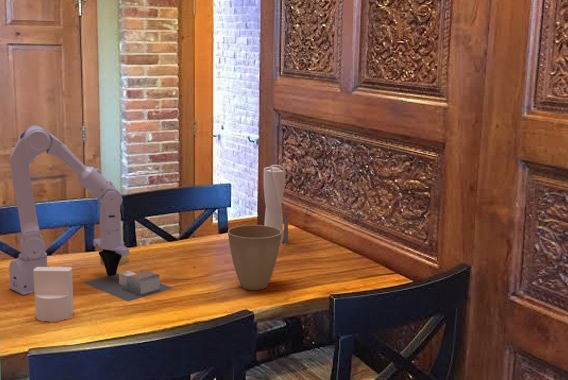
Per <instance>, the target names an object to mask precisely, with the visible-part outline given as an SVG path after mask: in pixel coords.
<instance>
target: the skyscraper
mask: <svg viewBox="0 0 568 380" xmlns="http://www.w3.org/2000/svg"><path fill="white" fill-rule="evenodd" d="M280 168H281V169H282V170H281V169H280ZM285 183H286V169H285V168H284V166H282V165H280V164H271V165H270V166H267V167H264V168H263V194H264V203H265V204H264V205H265V210H264V211H265V212H264V224H263V225H264V226H271V227H275V228H278V229H280V230H281V231H282V234H281V240H280V244H281V243H282V244H283V245H284V244H287V243H288V242H289V219H288V207H287V206H286V207H285V212H284V215H285V216H283V208H282V203H283V199H284V194H285ZM283 217H284V220H283ZM283 223H284V224H283ZM288 244H289V243H288ZM288 244H287V245H288ZM287 245H284V248H285V247H286V246H287Z"/></svg>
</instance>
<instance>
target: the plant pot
mask: <svg viewBox="0 0 568 380" xmlns="http://www.w3.org/2000/svg"><path fill="white" fill-rule="evenodd" d="M281 234H282V231H281V230H280V229H278V228H275V227H271V226H264V224H263V225H262V224H247V225H245V224H244V225H237V226H233V227H231V228H229V229H228V230H227V235H228V236H227V237H228V243H229V249H230V254H231V259H232V262H233V263H232V264H233V268H234V270H235V273H236V276H237V280H238V282H239V285H240V287H241V288H242V289H244V290H249V291H261V290H264V288H265V289H266V288H267V287H268V286H269V283H270V282H271V277H272V275H273V272H274V269H275V266H276V263H277V259H278V254H279V250H280V247H279V246H280V240H281ZM260 289H261V290H260Z"/></svg>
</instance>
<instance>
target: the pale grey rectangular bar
mask: <svg viewBox="0 0 568 380" xmlns="http://www.w3.org/2000/svg"><path fill="white" fill-rule="evenodd" d="M118 273H119V284H121V285H122V276H123V275H126V276H130V275H134V274H137V273H135V272H133V271H130V270H124V271H121V272H118Z"/></svg>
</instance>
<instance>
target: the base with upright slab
mask: <svg viewBox="0 0 568 380" xmlns="http://www.w3.org/2000/svg"><path fill="white" fill-rule="evenodd" d="M33 271H34V292H33V293H34V310H35V319H36V318H37V319H38V320H37V319H36V320H37V321H39V320H41V321H40V322H43V321H50V322H49V323H52V322H51V321H58V322H61V321H60V320H63V321H65V320H64V319H67V318H69V319H70V317H71V316H72V315H73V316H74V309H75V308H74V289H73V268H72V267H69V266H65V267H64V266H56V267H55V266H47V267H36V268H35V269H34V270H33ZM73 316H72V317H73ZM72 317H71V318H72ZM67 320H68V319H67Z"/></svg>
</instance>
